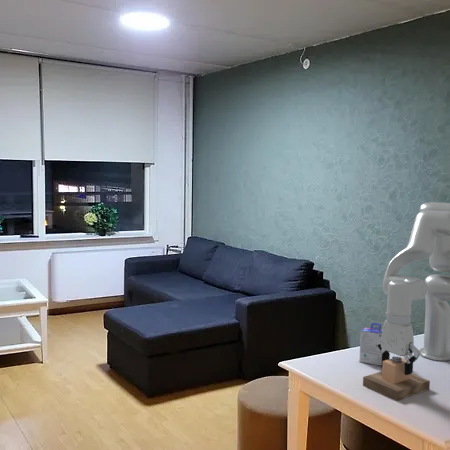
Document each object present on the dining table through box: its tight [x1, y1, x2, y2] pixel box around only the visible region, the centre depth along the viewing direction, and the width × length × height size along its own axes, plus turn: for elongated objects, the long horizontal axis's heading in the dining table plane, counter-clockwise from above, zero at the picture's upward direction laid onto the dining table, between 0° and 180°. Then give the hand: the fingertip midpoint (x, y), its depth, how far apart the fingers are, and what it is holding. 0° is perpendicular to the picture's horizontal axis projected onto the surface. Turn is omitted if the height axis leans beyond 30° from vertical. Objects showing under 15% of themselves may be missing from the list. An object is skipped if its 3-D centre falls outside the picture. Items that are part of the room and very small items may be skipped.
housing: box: [381, 356, 411, 384], centre depth 180 cm, size 5×8×7 cm, turn 122°
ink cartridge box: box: [358, 322, 390, 366], centre depth 203 cm, size 10×6×14 cm, turn 62°
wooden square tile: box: [362, 370, 431, 401], centre depth 180 cm, size 16×14×3 cm
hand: (396, 369), depth 180 cm, fingers open, 9 cm apart
